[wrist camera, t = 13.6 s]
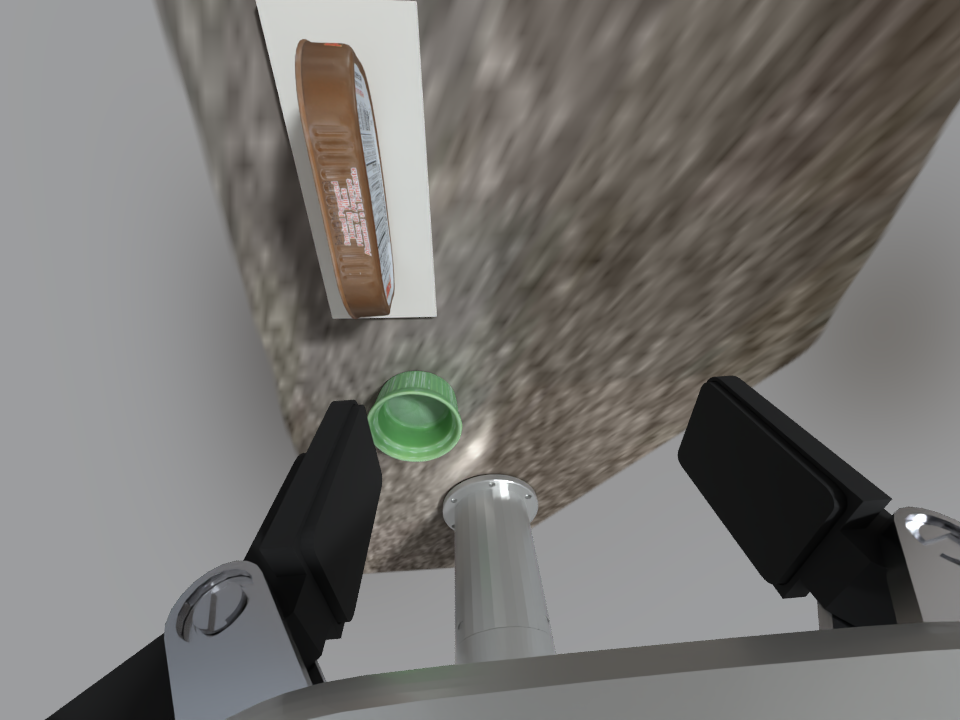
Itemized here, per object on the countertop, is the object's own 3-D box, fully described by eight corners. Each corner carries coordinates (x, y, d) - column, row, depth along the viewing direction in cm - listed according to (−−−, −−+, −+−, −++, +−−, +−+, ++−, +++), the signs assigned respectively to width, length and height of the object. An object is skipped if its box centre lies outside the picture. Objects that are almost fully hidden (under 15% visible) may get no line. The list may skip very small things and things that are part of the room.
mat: (436, 313, 31) (436, 316, 31) (334, 315, 31) (332, 318, 30) (417, 4, 21) (416, 1, 20) (259, -1, 20) (254, -5, 20)
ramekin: (459, 431, 39) (460, 462, 36) (378, 431, 39) (370, 462, 35) (462, 365, 35) (463, 392, 31) (370, 364, 34) (360, 391, 30)
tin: (325, 57, 21) (260, 15, 14) (377, 58, 21) (340, 17, 14) (366, 292, 29) (339, 341, 22) (404, 291, 29) (389, 340, 22)
